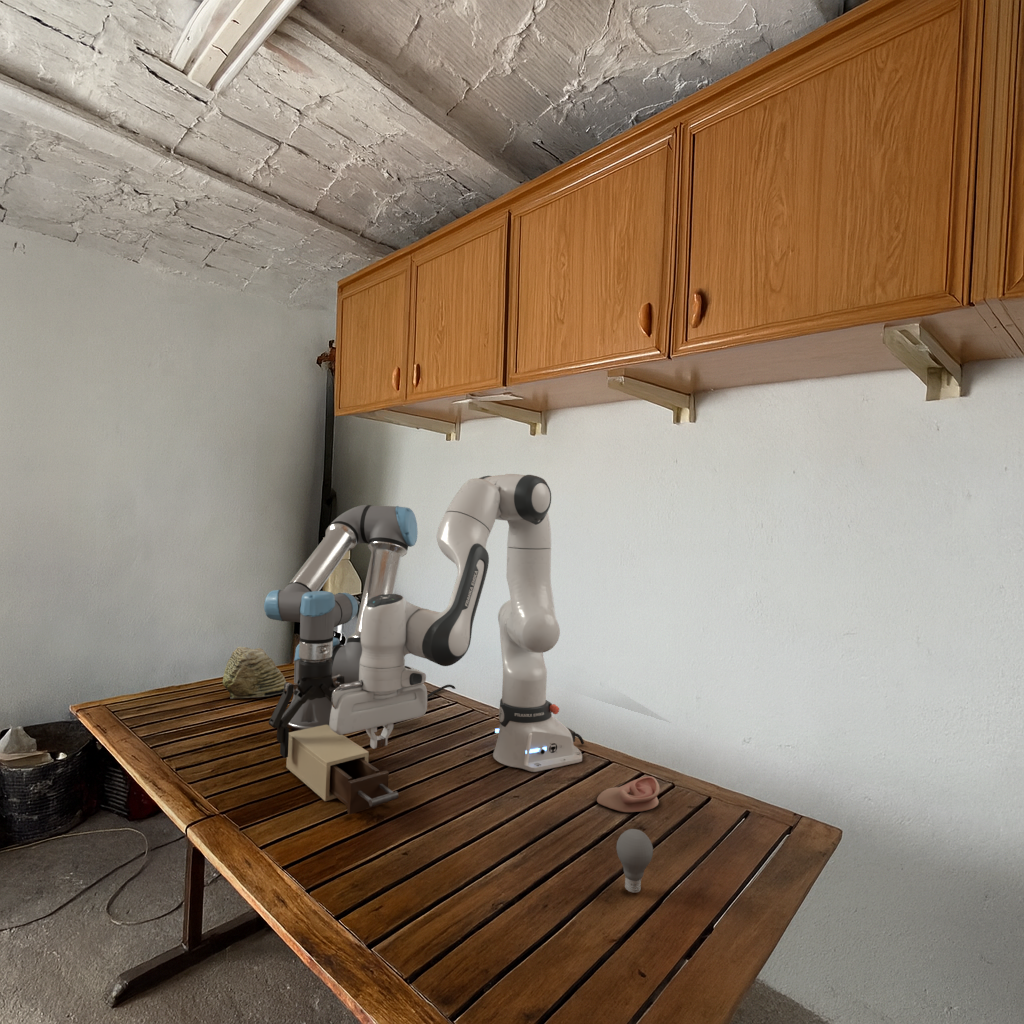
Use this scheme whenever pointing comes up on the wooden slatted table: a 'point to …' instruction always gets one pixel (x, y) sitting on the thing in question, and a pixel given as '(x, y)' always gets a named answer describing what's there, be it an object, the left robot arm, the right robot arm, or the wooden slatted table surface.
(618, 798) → the anatomical model
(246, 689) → the fossil
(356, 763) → the drawer
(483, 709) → the wooden slatted table surface
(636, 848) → the light bulb
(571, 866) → the wooden slatted table surface
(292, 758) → the cabinet
